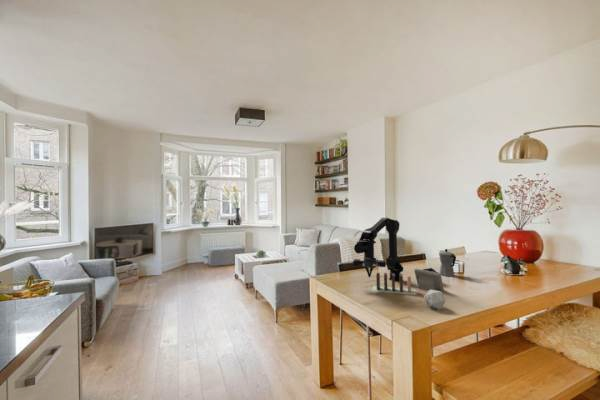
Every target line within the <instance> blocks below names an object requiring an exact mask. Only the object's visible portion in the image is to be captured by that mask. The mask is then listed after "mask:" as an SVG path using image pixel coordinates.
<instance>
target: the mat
mask: <svg viewBox="0 0 600 400" xmlns="http://www.w3.org/2000/svg"><path fill="white" fill-rule="evenodd" d="M371 292H377V293H378V292H379V293H390V294H403V295H411V296H413V295H416V296H417V292H416V289H415V288H411V293H408V287H406V288H404V287H403V292H400V287H395V291H392V286H387V291H384V286H382V285H380V290H377V285H373V286H372V290H371Z"/></svg>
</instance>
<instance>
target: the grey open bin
mask: <svg viewBox="0 0 600 400" xmlns="http://www.w3.org/2000/svg"><path fill="white" fill-rule="evenodd" d="M422 270H425V271H430V272H435V273H439V272H438V271H436V270H435V269H434V268H432V267H430V268H424V269H422Z"/></svg>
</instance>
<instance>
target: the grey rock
mask: <svg viewBox="0 0 600 400" xmlns="http://www.w3.org/2000/svg"><path fill="white" fill-rule="evenodd" d="M423 297H424V300H425V303H426V305H427V307H428V308H431V309H435V310H441V309H442V308H443V306H444V305H445V304H446V300H445V297H444V294H443V292H442V290H437V289H436V290H431V289H430V290H427V292H426V294H425V295H424V296H423Z"/></svg>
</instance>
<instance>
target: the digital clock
mask: <svg viewBox="0 0 600 400" xmlns="http://www.w3.org/2000/svg"><path fill="white" fill-rule="evenodd" d="M439 273H440V272H438V273H435V272H430V271H425V270H423V269H419V268H415V269H414V274H415V279H416V283H417V287H418V288H419V289H423V290H426V291H429V290H430V289H431V290H436V291H444V290H445V287H444V283H443V277H442V275H440V274H439Z"/></svg>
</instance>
